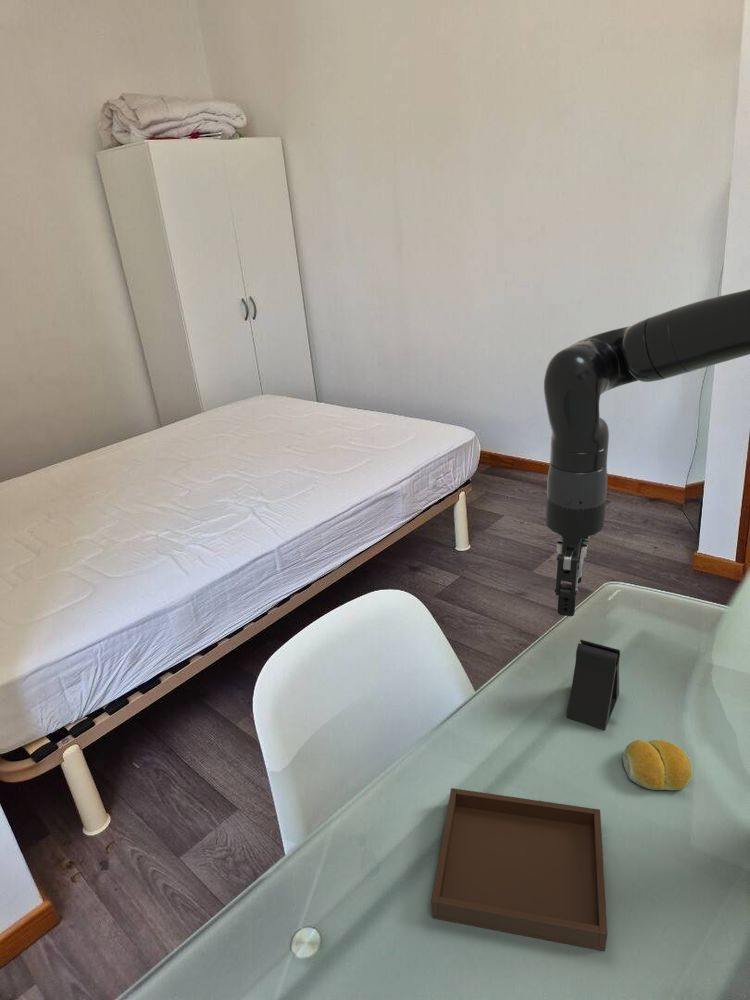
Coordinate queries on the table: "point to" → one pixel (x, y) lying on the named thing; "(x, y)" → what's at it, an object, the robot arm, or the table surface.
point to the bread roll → (657, 765)
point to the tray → (522, 868)
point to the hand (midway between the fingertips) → (569, 597)
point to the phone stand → (594, 684)
